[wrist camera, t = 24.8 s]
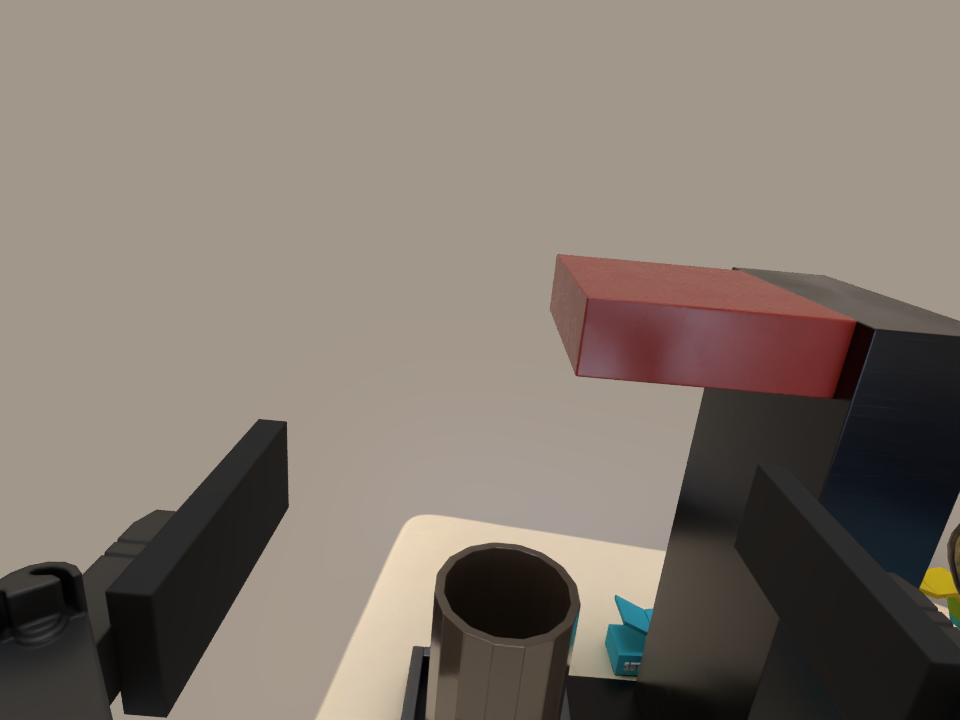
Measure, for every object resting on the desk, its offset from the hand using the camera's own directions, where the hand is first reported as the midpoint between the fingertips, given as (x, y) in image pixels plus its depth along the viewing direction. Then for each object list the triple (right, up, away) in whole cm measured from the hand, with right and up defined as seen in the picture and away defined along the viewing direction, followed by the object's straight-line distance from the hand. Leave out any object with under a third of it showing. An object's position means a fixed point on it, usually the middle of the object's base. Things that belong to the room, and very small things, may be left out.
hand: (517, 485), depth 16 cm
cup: (-1, -21, +18) cm, 28 cm away
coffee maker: (+4, -22, +19) cm, 29 cm away
